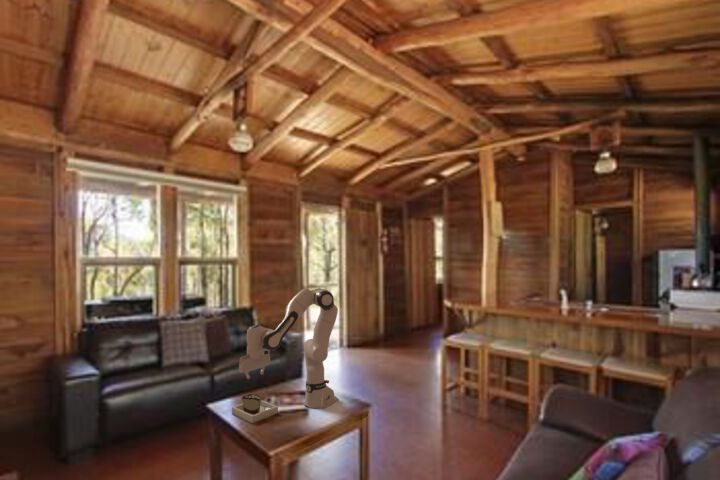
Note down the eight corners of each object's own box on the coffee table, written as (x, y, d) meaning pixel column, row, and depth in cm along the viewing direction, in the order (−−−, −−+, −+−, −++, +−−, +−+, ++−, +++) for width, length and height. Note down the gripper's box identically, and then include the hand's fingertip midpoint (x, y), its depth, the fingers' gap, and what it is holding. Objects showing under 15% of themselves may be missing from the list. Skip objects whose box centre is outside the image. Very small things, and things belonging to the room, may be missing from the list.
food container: (265, 411, 244) (265, 394, 244) (260, 415, 239) (260, 398, 239) (247, 408, 248) (247, 392, 248) (241, 413, 242) (241, 396, 242)
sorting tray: (257, 404, 257) (257, 398, 257) (277, 413, 244) (277, 406, 244) (231, 414, 243) (231, 407, 243) (252, 423, 230) (252, 416, 230)
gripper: (242, 358, 233) (243, 382, 234) (271, 349, 249) (272, 372, 249) (236, 356, 237) (236, 380, 238) (265, 348, 253) (265, 370, 253)
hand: (255, 376), depth 244 cm, fingers open, 8 cm apart
